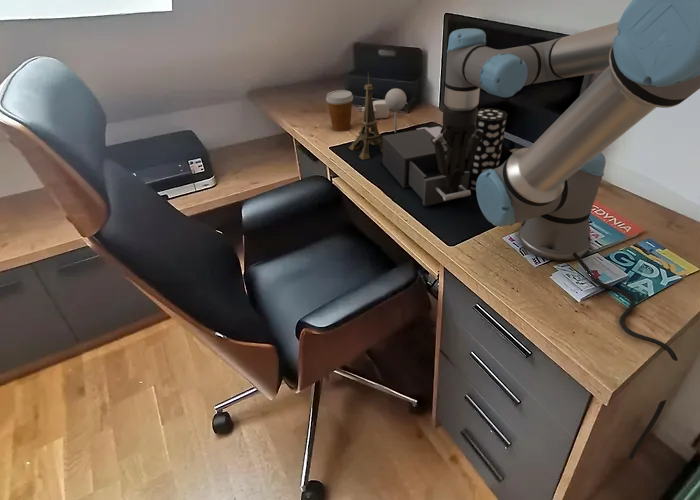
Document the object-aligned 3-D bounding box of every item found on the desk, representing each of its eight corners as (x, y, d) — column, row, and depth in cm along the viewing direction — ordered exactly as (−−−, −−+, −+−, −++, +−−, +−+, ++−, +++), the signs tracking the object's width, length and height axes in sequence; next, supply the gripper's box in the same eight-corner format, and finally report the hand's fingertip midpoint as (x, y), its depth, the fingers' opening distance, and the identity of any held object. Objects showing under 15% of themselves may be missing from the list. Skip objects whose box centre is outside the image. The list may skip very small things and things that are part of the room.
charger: (431, 132, 159) (454, 149, 148) (407, 137, 157) (428, 154, 145) (431, 119, 156) (455, 135, 145) (407, 124, 154) (429, 140, 142)
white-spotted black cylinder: (459, 184, 129) (467, 115, 117) (475, 173, 134) (483, 106, 122) (486, 194, 125) (496, 123, 113) (501, 182, 129) (513, 112, 117)
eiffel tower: (362, 160, 145) (359, 78, 130) (348, 147, 152) (344, 69, 137) (392, 152, 148) (392, 72, 133) (377, 140, 156) (376, 63, 141)
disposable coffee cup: (338, 120, 172) (336, 88, 164) (359, 125, 167) (358, 92, 160) (322, 129, 166) (320, 96, 158) (344, 134, 161) (342, 100, 154)
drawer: (478, 207, 118) (481, 181, 114) (434, 217, 115) (436, 191, 111) (440, 171, 134) (442, 148, 130) (400, 179, 132) (401, 156, 127)
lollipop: (409, 130, 161) (410, 87, 152) (399, 137, 157) (400, 93, 148) (391, 126, 165) (391, 84, 156) (381, 134, 160) (381, 90, 151)
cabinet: (447, 179, 132) (450, 149, 127) (403, 188, 129) (404, 158, 124) (422, 155, 145) (424, 128, 139) (382, 163, 142) (382, 135, 136)
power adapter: (359, 121, 170) (359, 105, 167) (358, 116, 174) (357, 100, 171) (389, 118, 171) (389, 103, 167) (387, 114, 175) (387, 98, 171)
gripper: (477, 96, 107) (467, 185, 121) (426, 104, 105) (422, 195, 119) (495, 106, 102) (482, 198, 116) (441, 115, 99) (435, 209, 113)
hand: (452, 197), depth 117 cm, fingers closed
